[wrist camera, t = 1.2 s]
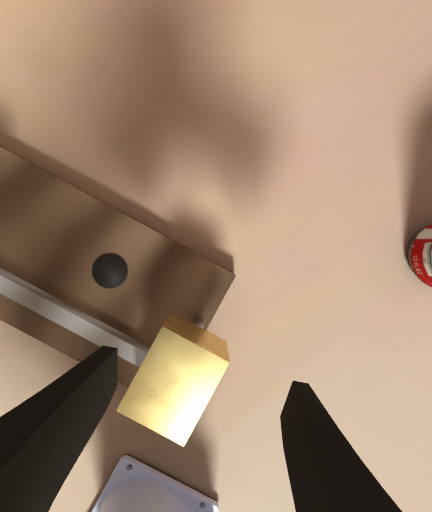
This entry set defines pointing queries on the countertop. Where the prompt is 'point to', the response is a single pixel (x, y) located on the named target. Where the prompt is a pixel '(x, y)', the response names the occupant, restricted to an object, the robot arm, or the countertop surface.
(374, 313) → the countertop surface
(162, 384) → the block
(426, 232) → the beverage can
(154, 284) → the hole plate
